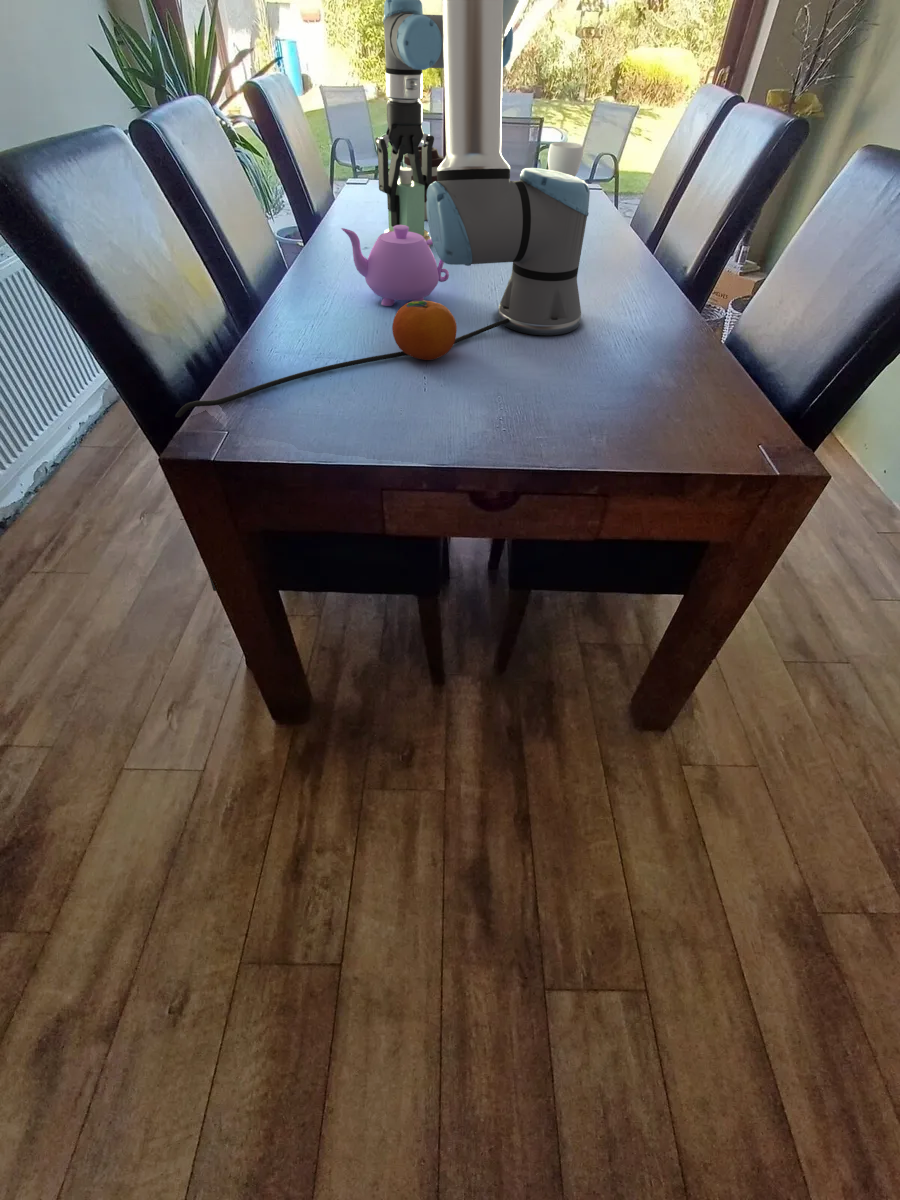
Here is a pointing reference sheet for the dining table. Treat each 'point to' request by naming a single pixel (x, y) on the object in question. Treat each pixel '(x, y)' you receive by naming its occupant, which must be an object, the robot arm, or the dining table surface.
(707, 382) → the dining table surface
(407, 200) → the soap bottle
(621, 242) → the dining table surface
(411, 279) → the teapot
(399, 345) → the fruit
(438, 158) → the coffee cup
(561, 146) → the cup
